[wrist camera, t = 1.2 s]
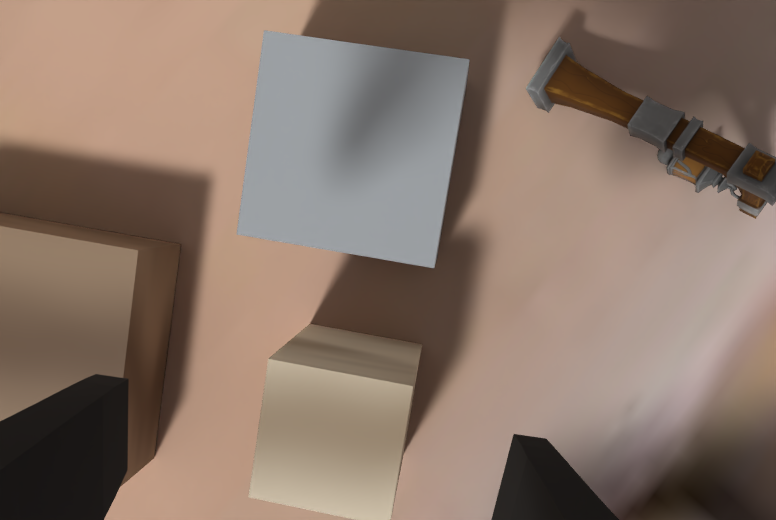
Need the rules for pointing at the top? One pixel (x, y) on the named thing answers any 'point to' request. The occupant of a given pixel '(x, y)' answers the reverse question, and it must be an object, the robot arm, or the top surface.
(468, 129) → the top surface
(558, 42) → the toy blunderbuss
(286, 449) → the maple block
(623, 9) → the top surface
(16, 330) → the tan square slab
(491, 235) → the top surface
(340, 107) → the slate grey block
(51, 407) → the robot arm
